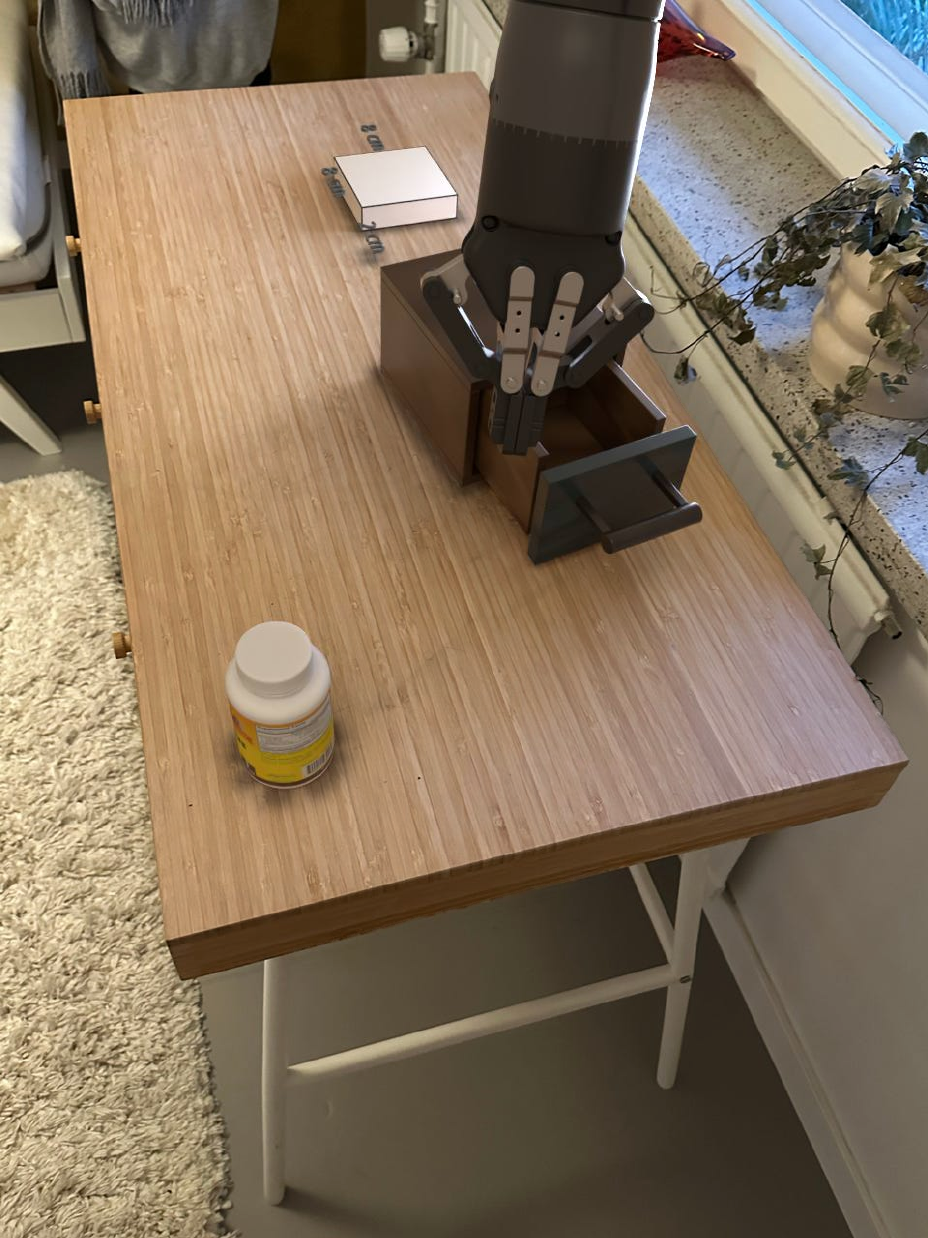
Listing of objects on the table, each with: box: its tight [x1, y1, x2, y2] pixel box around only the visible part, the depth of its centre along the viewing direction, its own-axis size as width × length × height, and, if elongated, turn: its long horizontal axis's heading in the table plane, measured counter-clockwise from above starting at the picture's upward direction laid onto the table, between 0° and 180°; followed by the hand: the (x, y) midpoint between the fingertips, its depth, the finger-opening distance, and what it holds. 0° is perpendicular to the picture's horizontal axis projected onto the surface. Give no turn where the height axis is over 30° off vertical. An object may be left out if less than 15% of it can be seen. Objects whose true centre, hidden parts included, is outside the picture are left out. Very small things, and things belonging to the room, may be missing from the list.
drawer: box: [473, 358, 704, 566], centre depth 71 cm, size 18×11×8 cm, turn 27°
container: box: [321, 123, 459, 255], centre depth 98 cm, size 20×11×3 cm, turn 20°
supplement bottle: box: [224, 620, 336, 790], centre depth 56 cm, size 6×6×10 cm
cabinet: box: [379, 247, 629, 488], centre depth 77 cm, size 15×13×10 cm
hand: (511, 449), depth 58 cm, fingers closed
